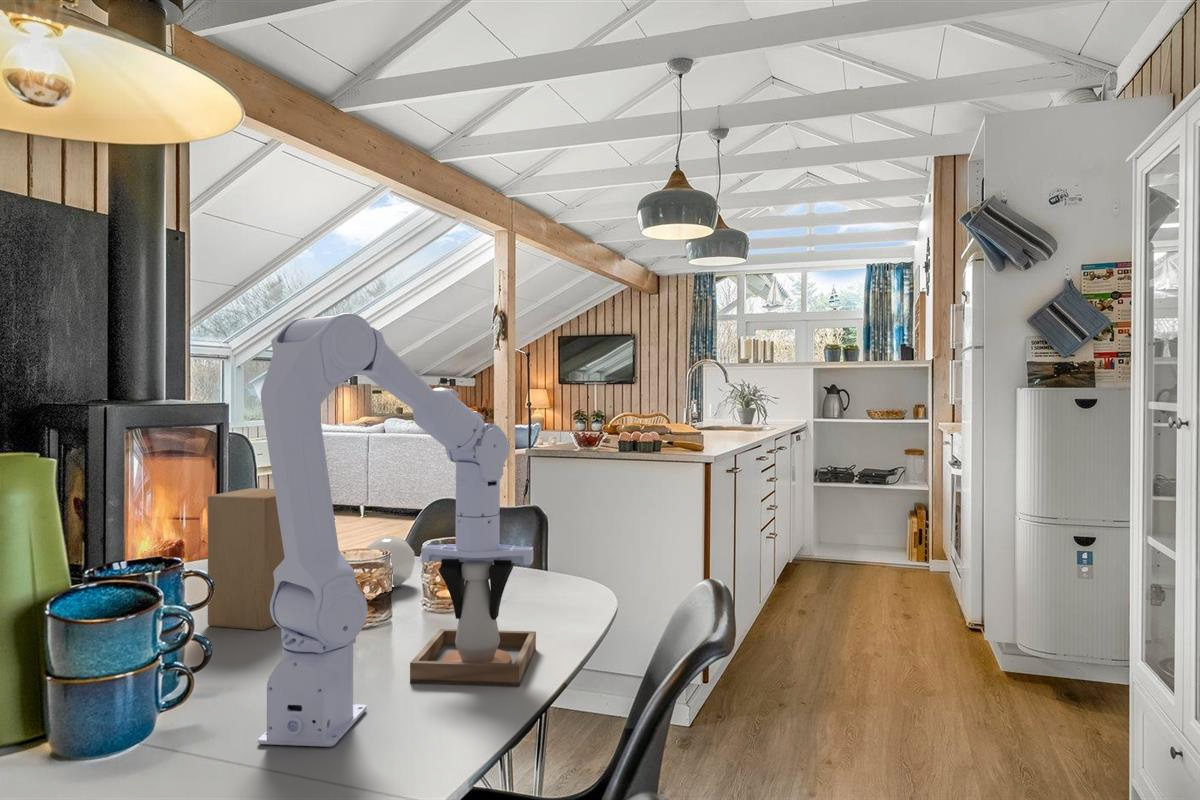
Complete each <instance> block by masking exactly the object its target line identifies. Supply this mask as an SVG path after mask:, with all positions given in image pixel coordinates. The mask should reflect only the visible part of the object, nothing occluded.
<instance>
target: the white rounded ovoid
mask: <svg viewBox="0 0 1200 800" xmlns="http://www.w3.org/2000/svg"><path fill="white" fill-rule="evenodd" d="M366 549H384V550H388V551H390V553H391V554H392V555H391V563H392V567H393V572H394V573H393V585H394V588H398V587H400V586H401V585H403V584H404V583H405V582H407V581H408V580H409V579H411V577H412V573H413V570H414V568H415V563H416V557H415V551H414V549H413V548H412V547H411V546H410V545H409V543H408V542H407V541H406V540H404V539H403V538H400V537H396V536H393V535H388V536H383V537H379V538H378V539H376V540H374V541H373V542H372V543H371V544H369V545H368V546H367V547H366ZM394 588H393V589H394Z"/></svg>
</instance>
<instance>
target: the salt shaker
mask: <svg viewBox="0 0 1200 800" xmlns="http://www.w3.org/2000/svg"><path fill="white" fill-rule="evenodd" d="M493 564H494V563H489V562H486V561H467V562H464V563H463V564H462V565H461V577H462V578H463V579H465V584H464V592H463V598H462V604H461V618H460V619H458V621H457V626H456V629H457V633H456V639H455V645H456V648H457V650H458V652H459V655H460V657H461V659H462V660H463V661H464V662H476V663H487V662H490V661H493V658H494V655H495V653H496V650H497V648H498V646H499V644H500V636H499V631H500V630H499V626H498V621H497V619H496V620H492V619H491V617H490V602H491V587H490V575H489V568H490V567H491V566H492V565H493Z"/></svg>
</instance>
